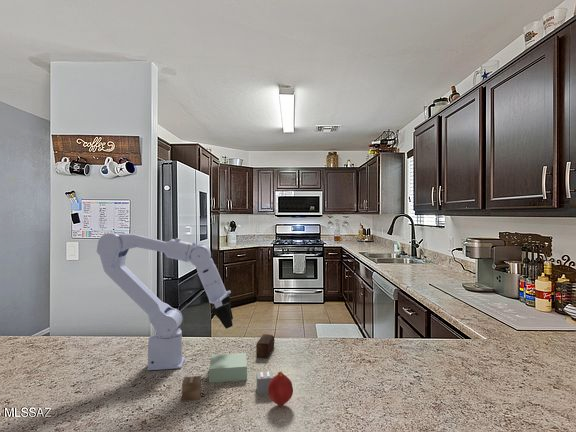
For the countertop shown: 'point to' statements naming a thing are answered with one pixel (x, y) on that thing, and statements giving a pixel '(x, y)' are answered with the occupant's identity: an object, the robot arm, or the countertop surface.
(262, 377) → the slate numbered block
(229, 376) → the sage block
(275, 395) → the onion
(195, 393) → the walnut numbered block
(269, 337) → the brick
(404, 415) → the countertop surface
